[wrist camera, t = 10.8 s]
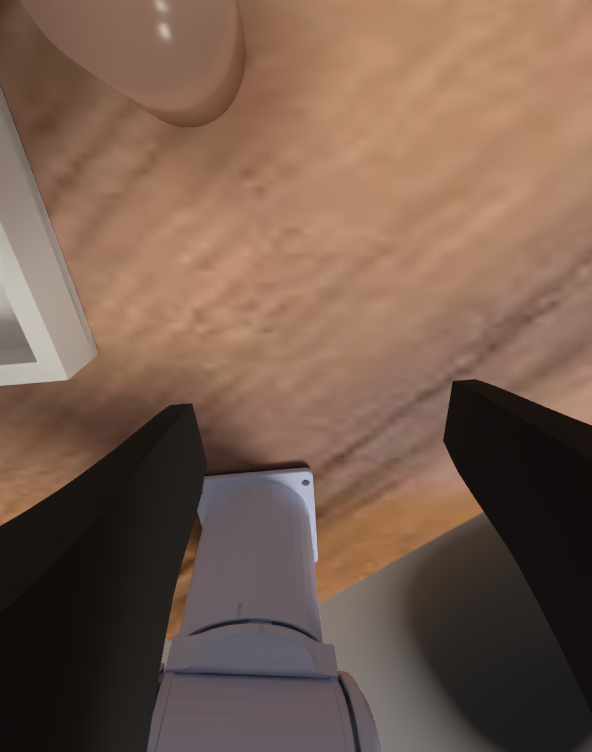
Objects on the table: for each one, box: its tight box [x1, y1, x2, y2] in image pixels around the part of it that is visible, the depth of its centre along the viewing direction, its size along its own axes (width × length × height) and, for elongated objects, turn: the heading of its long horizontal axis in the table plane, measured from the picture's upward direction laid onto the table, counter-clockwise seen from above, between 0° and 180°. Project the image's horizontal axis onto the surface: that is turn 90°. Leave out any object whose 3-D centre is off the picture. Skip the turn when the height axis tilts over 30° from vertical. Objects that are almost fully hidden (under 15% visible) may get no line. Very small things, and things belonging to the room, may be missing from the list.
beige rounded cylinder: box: [20, 0, 246, 127], centre depth 10 cm, size 5×5×6 cm
